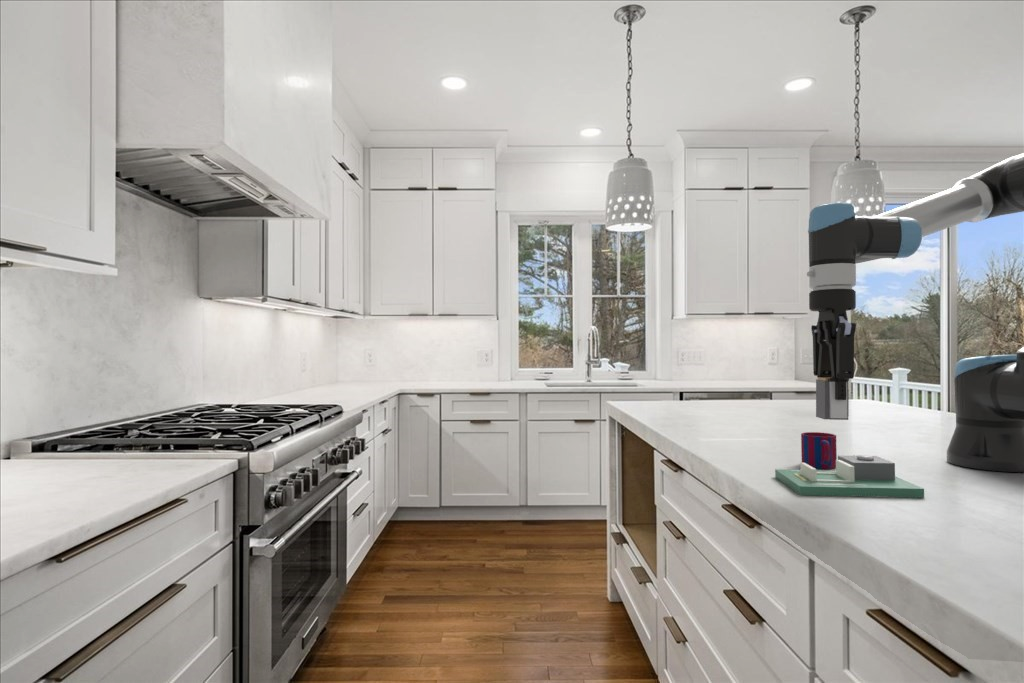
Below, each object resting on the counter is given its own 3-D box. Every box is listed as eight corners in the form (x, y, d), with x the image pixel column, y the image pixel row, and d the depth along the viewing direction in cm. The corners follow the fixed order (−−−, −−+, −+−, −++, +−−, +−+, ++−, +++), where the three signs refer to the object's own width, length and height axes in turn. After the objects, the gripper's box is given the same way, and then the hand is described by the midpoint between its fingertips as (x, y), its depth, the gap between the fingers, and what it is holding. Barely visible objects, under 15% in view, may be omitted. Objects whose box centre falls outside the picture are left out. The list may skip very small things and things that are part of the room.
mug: (833, 463, 128) (833, 432, 128) (842, 473, 118) (841, 440, 118) (800, 462, 130) (799, 431, 130) (805, 471, 121) (805, 438, 121)
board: (883, 478, 113) (883, 456, 113) (924, 497, 99) (923, 472, 99) (775, 476, 116) (774, 455, 116) (799, 494, 102) (799, 470, 102)
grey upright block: (841, 417, 109) (841, 377, 109) (851, 419, 105) (851, 378, 105) (816, 416, 109) (816, 377, 109) (824, 419, 105) (824, 378, 105)
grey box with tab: (876, 471, 113) (876, 453, 113) (895, 479, 106) (894, 460, 106) (837, 470, 114) (837, 452, 114) (853, 479, 107) (853, 460, 107)
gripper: (794, 293, 116) (794, 411, 116) (829, 284, 99) (830, 422, 99) (833, 293, 115) (834, 411, 115) (876, 284, 98) (877, 422, 98)
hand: (832, 416), depth 107 cm, fingers closed on grey upright block, 4 cm apart
